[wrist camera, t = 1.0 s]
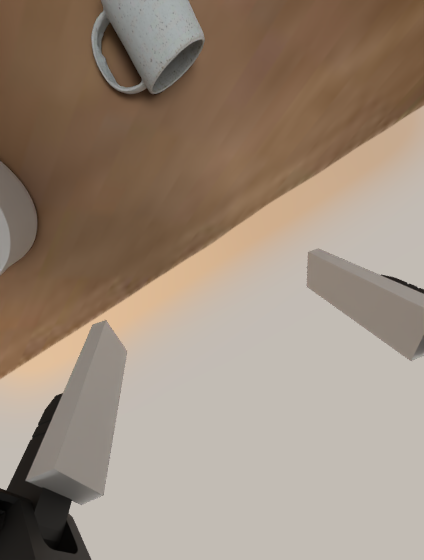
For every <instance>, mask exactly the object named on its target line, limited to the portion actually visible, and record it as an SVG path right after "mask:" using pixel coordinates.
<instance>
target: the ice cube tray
mask: <svg viewBox="0 0 424 560" xmlns="http://www.w3.org/2000/svg"><path fill="white" fill-rule="evenodd" d="M36 232H37V213H36V209H35V206H34V204H33V201H32V199H31V197H30V195H29V193H28V191H27V190H26V188H25V187H24V185H23V184H22V183H21V181H20V180H19V179H18V178H17V177H16V175H15V174H14V173H13V172H12V171H11V170H10V169H9V168H8V167H7V166H6V165H5V164H3V163H2V162H1V161H0V275H1V274H2V273H3V272H4V271H5V270H6V269H7V268H8V267H10V266H11V265H12V264H14V263H15V262H17V261H18V260H19V259H21V258H22V257H23V256H24V255H25V254H26V253H27V252H28V251H29V249H30V248H31V246H32V244H33V242H34V240H35V237H36Z"/></svg>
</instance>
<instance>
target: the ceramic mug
mask: <svg viewBox="0 0 424 560" xmlns="http://www.w3.org/2000/svg"><path fill="white" fill-rule="evenodd" d="M101 3H102V5H103V12H102V13H100V15H99V16H98V17H97V19H96V22H95V24H94V27H93V31H92V48H93V54H94V57H95V60H96V63H97V65H98V67H99V69H100V71H101V73H102V75H103V76H104V78H105V79H106V81H107V82H108V83H109V84H110V85H111V86H112V87H113V88H115V89H116V90H118V91H120V92H123V93H127V94H135V93H139V92H141V91H143V90H145V89H146V88H147V89H148V90H149V92H150V93H151V94H157V93H160V92H162V91H164V90H165V89H166V88H168V87H169V86H171V85H172V84H173V83H174V82H176V81H177V80H178V79H179V78H180V77H181V76H182V75H183V74H184V73H185V72H186V71H187V70H188V69H189V67H190V66H191V65H192V64H193V63H194V61H195V60H196V58H197V57H198V55H199V53H200V52H201V50H202V48H203V45H204V41H205V38H204V34H203V31H202V29H201V27H200V25H199V23H198V21H197V19H196V17H195V14H194V12H193V10H192V8H191V5H190V3H189V1H188V0H101ZM110 22H111V24H112V26H113V28H114V30H115V31H116V33H117V35H118V37H119V38H120V40H121V42H122V44H123V45H124V47H125V49H126V51H127V52H128V54H129V56H130V58H131V60H132V62H133V64H134V66H135V68H136V69H137V71H138V73H139V75H140V76H141V78H142V81H141V83H140V84H139V85H136V86H133V87H129V88H125V87H123V86H120V85H119V84H118V83H117V82H116V80H115V78H114V77H113V75H112V73H111V72H110V70H109V68H108V65H107V63H106V59H105V57H104V56H103V55H102V52H101V40H102V37H103V34H104V31H105V30H106V27H107V26H108V24H109V23H110Z"/></svg>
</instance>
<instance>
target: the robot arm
mask: <svg viewBox="0 0 424 560" xmlns="http://www.w3.org/2000/svg"><path fill="white" fill-rule="evenodd" d="M307 287H308V288H309V289H311V290H312V291H314V292H315V293H316V294H318V295H319V296H321V297H322V298H324V299H325V300H326V301H328V302H329V303H330V304H332V305H333V306H335V307H336V308H337V309H339V310H340V311H342V312H343V313H345V314H346V315H347V316H349V317H350V318H351V319H353V320H354V321H356V322H357V323H359V324H360V325H361V326H363V327H364V328H366V329H367V330H368V331H370V332H371V333H373V334H374V335H375V336H377V337H378V338H379V339H381V340H382V341H384V342H385V343H387V344H388V345H389V346H391V347H392V348H394V349H395V350H396V351H398V352H399V353H400V354H402V355H403V356H405V357H406V358H407V359H409V360H410V361H412V360H415V359H417V358H419V357H421V356H424V289H421V288H417V287H416V286H414V285H411V284H407V282H404V281H402V280H399V279H397V278H394V277H389V276H385V275H378V274H376V273H374V272H372V271H369V270H367V269H365V268H362V267H360V266H358V265H355V264H353V263H351V262H348V261H346V260H344V259H342V258H339V257H337V256H335V255H332V254H330V253H327V252H325V251H323V250H320V249H316V250H313V251H310V252H308V266H307ZM126 355H127V350H126V349H125V347H124V346H123V344H122V343H121V341H120V340H119V338H118V337H117V336H116V334H115V333H114V331H113V330H112V328H111V327H110V325H109V324H108V322H107V321H106V320H105V321H102V322H99V323H96V324H93V325H92V327H91V330H90V332H89V334H88V337H87V339H86V342H85V344H84V346H83V348H82V351H81V353H80V355H79V357H78V360H77V362H76V364H75V367H74V369H73V371H72V374H71V376H70V378H69V381H68V383H67V385H66V388H65V390H64V392H63V393H62V394H59V395H56V396H55V397H54V399H53V400H52V401H51V403H50V404H49V405H48V407H47V408H46V409H45V411H44V413H43V415H42V417H41V419H40V421H39V423H38V425H39V426H38V427H37V428H36V430H35V432H34V434H33V436H32V437H33V438H32V440H30V442H29V444H28V447H27V449H26V451H25V453H24V455H23V457H22V459H21V461H20V463H19V465H18V467H17V469H16V472H15V474H14V476H13V478H12V480H11V482H10V484H9V486H8V488H7V490H3V489H0V560H91V558H90V556H89V553H88V551H87V549H86V546H85V544H84V542H83V540H82V537H81V535H80V533H79V531H78V528H77V526H76V524H75V522H74V520H73V517H72V516H71V515H70V514H68V513H69V509H70V505H71V501H74V502H76V503H78V504H81V505H82V504H84V503H87V502H89V501H91V500H94V499H96V498H98V497H101V496H103V495H104V489H105V483H106V477H107V471H108V465H109V458H110V453H111V447H112V440H113V434H114V428H115V422H116V416H117V410H118V404H119V398H120V392H121V385H122V379H123V374H124V367H125V361H126Z"/></svg>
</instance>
